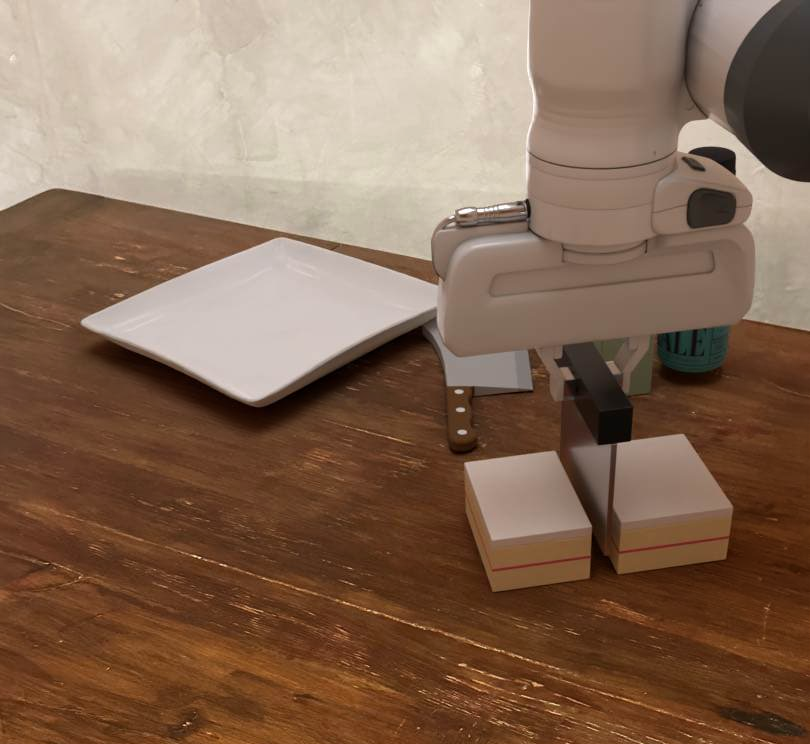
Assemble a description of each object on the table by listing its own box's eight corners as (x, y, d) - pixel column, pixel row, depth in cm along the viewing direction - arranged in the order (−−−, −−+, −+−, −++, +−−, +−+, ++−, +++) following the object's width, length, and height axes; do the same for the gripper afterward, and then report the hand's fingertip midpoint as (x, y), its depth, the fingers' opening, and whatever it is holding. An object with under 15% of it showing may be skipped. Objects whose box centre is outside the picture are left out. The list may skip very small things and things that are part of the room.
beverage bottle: (721, 354, 105) (748, 136, 93) (730, 389, 99) (759, 163, 87) (650, 354, 105) (667, 138, 93) (655, 389, 100) (674, 165, 88)
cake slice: (554, 500, 87) (555, 449, 85) (590, 579, 79) (592, 526, 77) (465, 512, 87) (463, 462, 84) (492, 593, 79) (491, 540, 76)
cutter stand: (599, 317, 112) (602, 260, 109) (650, 393, 100) (655, 331, 96) (532, 325, 112) (533, 268, 108) (575, 402, 99) (577, 341, 96)
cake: (678, 483, 88) (683, 432, 86) (726, 559, 80) (734, 506, 77) (578, 496, 88) (580, 446, 85) (617, 575, 80) (620, 522, 77)
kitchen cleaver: (546, 441, 93) (425, 441, 93) (545, 452, 93) (425, 452, 93) (522, 315, 112) (422, 315, 112) (521, 324, 113) (422, 325, 113)
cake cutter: (575, 461, 87) (581, 323, 80) (622, 553, 77) (633, 406, 70) (548, 464, 87) (551, 327, 80) (591, 557, 77) (599, 410, 70)
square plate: (464, 324, 113) (463, 288, 110) (258, 438, 97) (251, 399, 95) (285, 261, 128) (280, 228, 126) (82, 351, 113) (73, 315, 111)
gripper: (438, 230, 65) (446, 436, 73) (779, 193, 66) (749, 398, 75) (421, 193, 70) (430, 389, 78) (738, 159, 71) (715, 355, 80)
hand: (589, 393), depth 76 cm, fingers closed on cake cutter, 2 cm apart
